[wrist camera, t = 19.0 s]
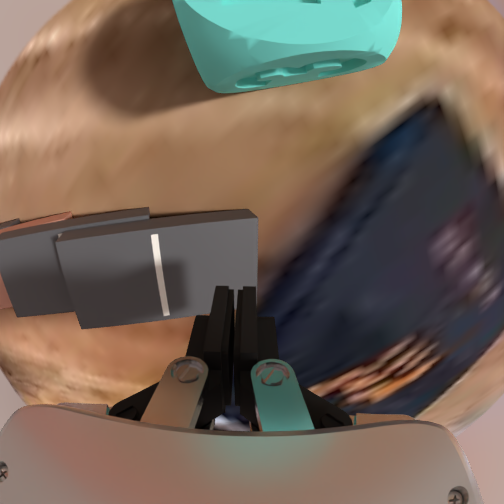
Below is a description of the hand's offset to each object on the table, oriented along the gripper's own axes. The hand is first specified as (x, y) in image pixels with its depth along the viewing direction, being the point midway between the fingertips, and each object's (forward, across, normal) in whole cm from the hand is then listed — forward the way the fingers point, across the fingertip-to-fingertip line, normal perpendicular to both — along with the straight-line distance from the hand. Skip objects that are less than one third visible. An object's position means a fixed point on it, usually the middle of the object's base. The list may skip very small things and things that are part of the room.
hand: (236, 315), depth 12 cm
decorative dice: (+7, -2, -14) cm, 16 cm away
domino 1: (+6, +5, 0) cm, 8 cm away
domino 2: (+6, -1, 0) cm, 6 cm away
